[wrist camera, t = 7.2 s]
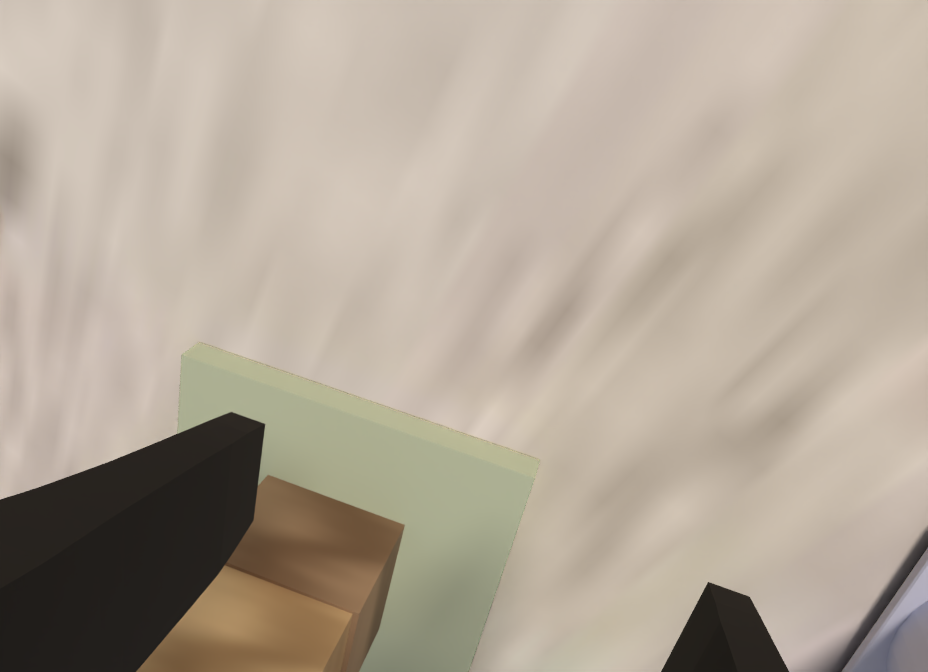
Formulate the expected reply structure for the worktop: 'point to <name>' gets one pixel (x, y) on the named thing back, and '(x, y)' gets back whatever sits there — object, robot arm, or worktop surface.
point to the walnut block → (323, 555)
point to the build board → (384, 495)
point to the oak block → (253, 631)
